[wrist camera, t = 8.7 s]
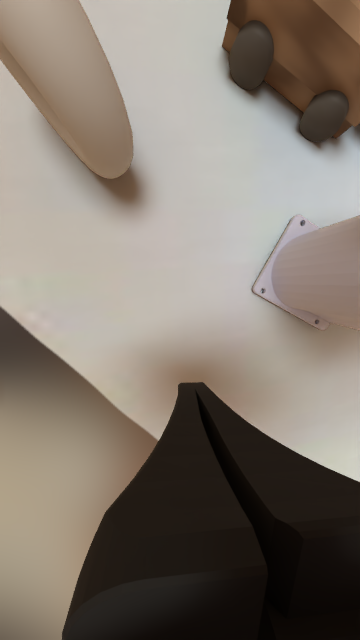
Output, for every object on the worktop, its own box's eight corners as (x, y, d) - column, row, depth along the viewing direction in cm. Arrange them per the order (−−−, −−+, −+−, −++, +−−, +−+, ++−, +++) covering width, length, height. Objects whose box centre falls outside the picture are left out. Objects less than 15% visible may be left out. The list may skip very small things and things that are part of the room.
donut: (151, 183, 16) (129, 20, 6) (122, 211, 16) (56, 99, 6) (58, 65, 14) (-210, -483, 4) (27, 99, 14) (-299, -332, 4)
